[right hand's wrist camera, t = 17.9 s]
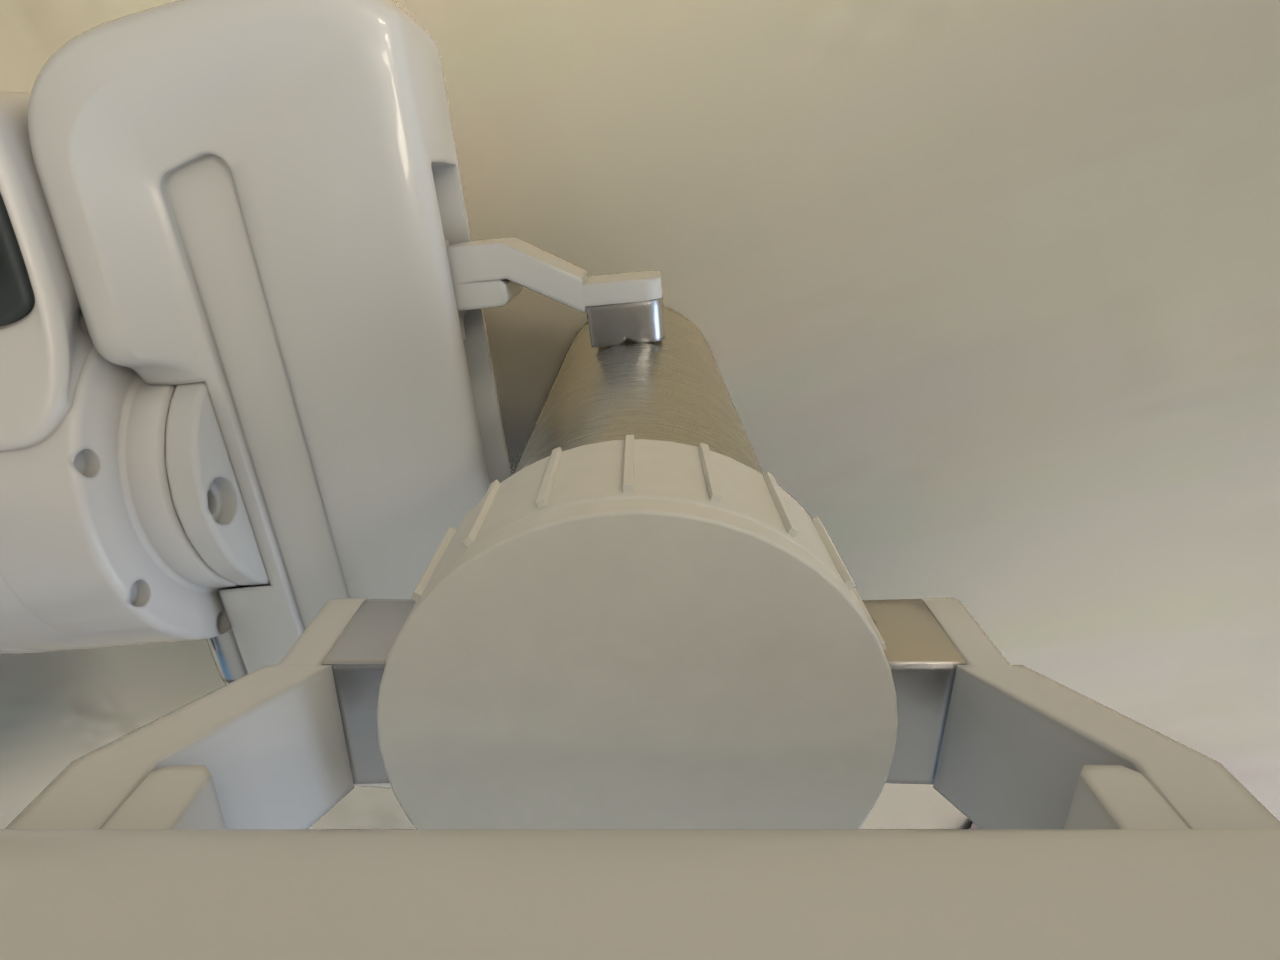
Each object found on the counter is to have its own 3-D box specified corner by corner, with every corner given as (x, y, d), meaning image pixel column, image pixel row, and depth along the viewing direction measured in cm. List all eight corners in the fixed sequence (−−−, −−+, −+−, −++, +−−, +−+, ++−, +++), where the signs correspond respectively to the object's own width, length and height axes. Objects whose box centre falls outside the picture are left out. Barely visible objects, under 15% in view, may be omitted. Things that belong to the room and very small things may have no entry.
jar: (741, 406, 24) (907, 767, 9) (612, 475, 25) (571, 906, 10) (669, 272, 22) (725, 443, 8) (534, 351, 23) (345, 644, 8)
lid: (340, 559, 10) (258, 660, 8) (734, 349, 9) (765, 400, 7) (566, 843, 12) (550, 987, 10) (910, 699, 11) (976, 825, 9)
